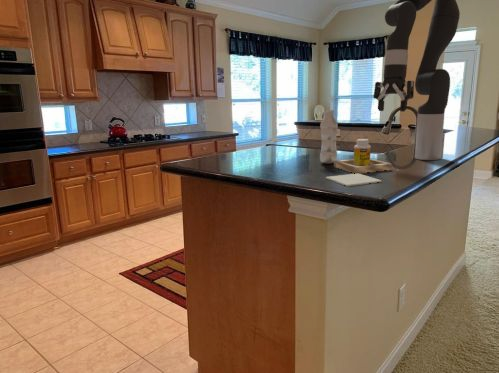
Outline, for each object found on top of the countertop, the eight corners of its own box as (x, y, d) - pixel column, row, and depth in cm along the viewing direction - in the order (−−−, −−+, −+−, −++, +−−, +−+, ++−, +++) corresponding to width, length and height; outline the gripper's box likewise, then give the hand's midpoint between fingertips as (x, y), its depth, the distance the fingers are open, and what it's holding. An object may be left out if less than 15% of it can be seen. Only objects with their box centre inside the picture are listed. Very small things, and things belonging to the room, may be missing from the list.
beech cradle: (366, 163, 145) (366, 157, 145) (391, 169, 132) (391, 163, 132) (333, 167, 141) (333, 161, 140) (356, 174, 128) (356, 167, 127)
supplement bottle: (358, 170, 133) (359, 141, 131) (350, 167, 139) (351, 139, 136) (372, 169, 134) (374, 139, 132) (364, 166, 140) (365, 138, 137)
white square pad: (358, 174, 127) (358, 173, 127) (381, 182, 116) (381, 180, 116) (325, 178, 123) (325, 176, 123) (347, 186, 112) (347, 184, 112)
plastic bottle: (340, 162, 148) (341, 109, 143) (331, 165, 143) (332, 110, 139) (326, 161, 152) (326, 109, 148) (316, 164, 148) (316, 110, 143)
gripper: (420, 63, 133) (415, 111, 136) (383, 66, 144) (379, 110, 147) (409, 61, 128) (404, 111, 132) (371, 64, 139) (368, 110, 142)
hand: (391, 111), depth 139 cm, fingers open, 8 cm apart
